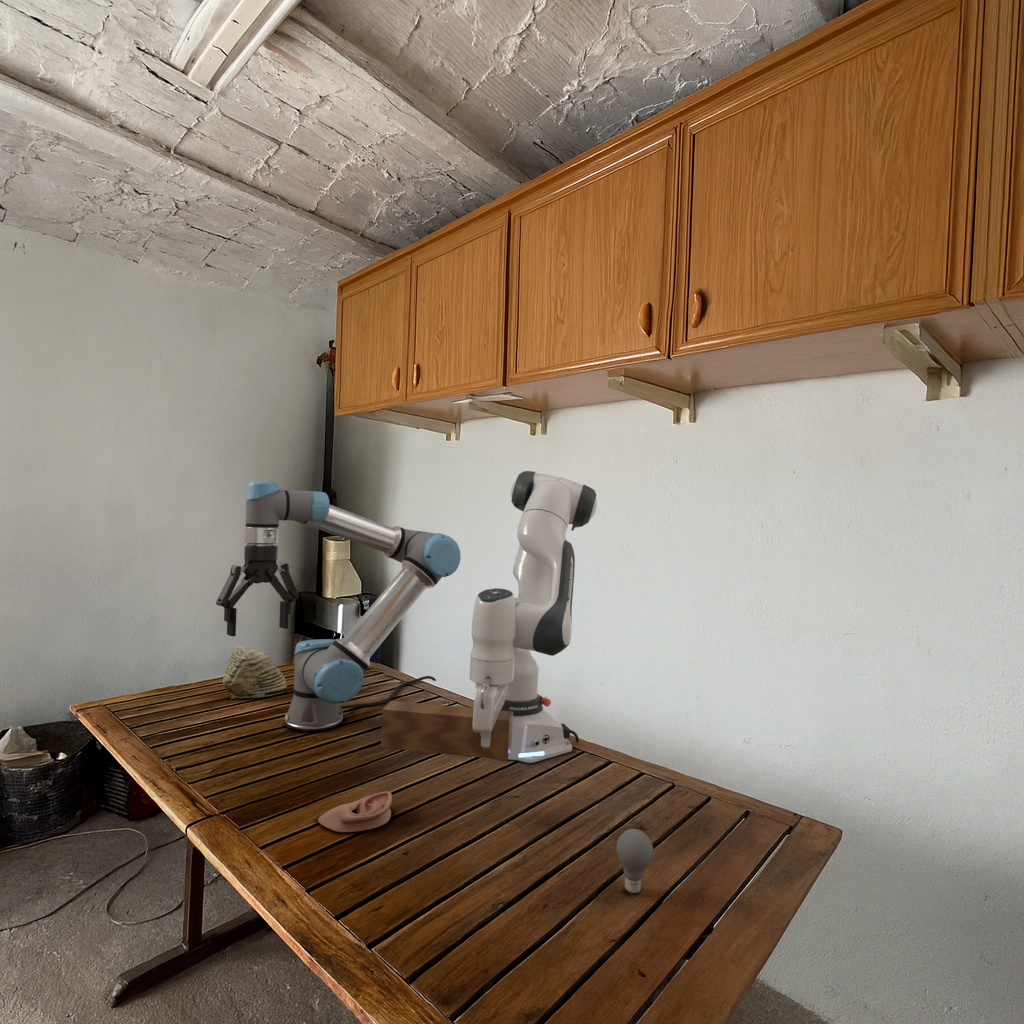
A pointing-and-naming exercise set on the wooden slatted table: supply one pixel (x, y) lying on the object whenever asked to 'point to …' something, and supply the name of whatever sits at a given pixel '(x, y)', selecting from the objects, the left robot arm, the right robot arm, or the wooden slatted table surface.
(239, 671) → the fossil
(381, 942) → the wooden slatted table surface
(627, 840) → the light bulb
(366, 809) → the anatomical model
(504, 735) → the bar
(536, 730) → the right robot arm
